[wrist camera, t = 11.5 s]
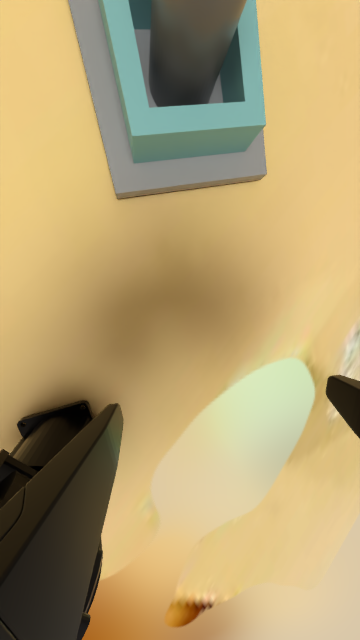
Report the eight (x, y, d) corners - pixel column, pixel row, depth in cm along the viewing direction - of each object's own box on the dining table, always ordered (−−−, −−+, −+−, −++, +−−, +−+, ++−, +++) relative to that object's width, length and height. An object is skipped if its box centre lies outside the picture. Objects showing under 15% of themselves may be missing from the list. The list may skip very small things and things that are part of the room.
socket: (117, 198, 17) (109, 173, 13) (64, -16, 14) (34, -135, 10) (260, 179, 19) (291, 152, 15) (242, -11, 16) (275, -106, 12)
